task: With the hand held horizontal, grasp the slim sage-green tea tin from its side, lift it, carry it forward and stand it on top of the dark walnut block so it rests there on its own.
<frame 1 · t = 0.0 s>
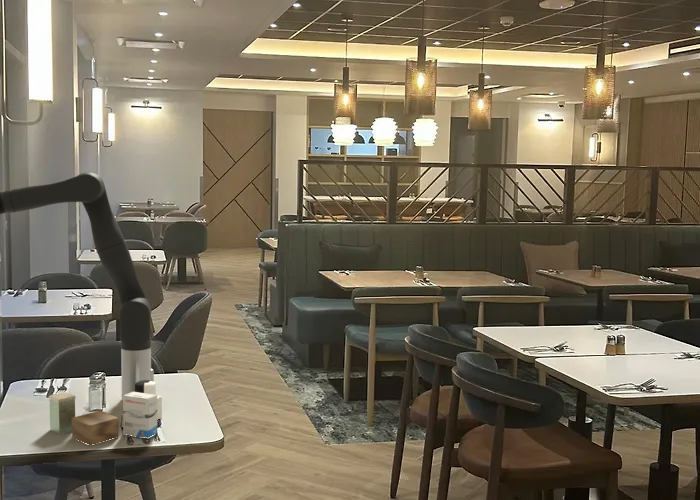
walnut block: (95, 438, 222), on the table
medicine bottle: (145, 421, 237), on the table
tea tin: (62, 430, 227), on the table
ink box: (140, 435, 225), on the table
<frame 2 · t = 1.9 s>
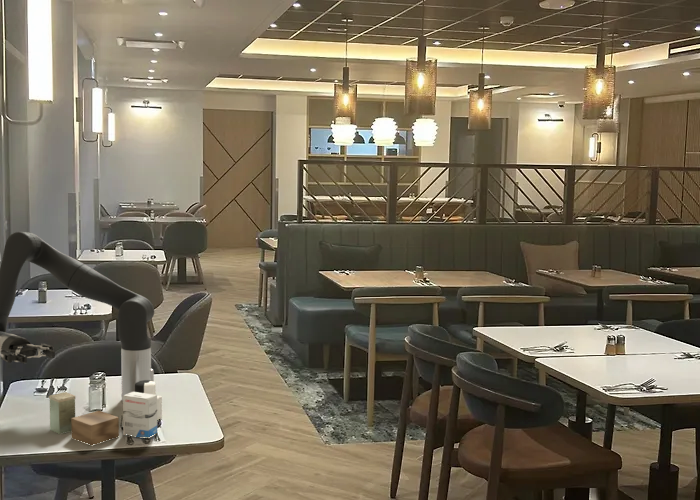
hand: (39, 357, 232), 19 cm above the table, tool horizontal, fingers open, 8 cm apart
nothing on the table moved.
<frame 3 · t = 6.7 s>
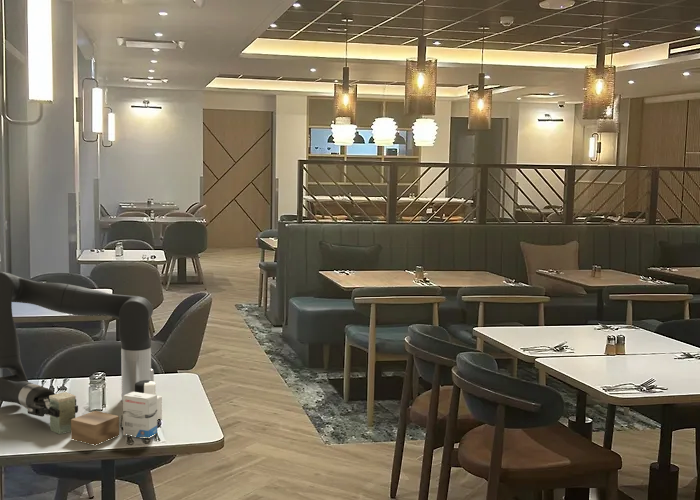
hand: (67, 411, 225), 6 cm above the table, tool horizontal, fingers closed on tea tin, 5 cm apart
tea tin: (62, 429, 227), on the table, touching gripper
everything else where it was.
when the fingers open (13 cm above the table, at t = 11.1 s): tea tin drops 1 cm, resting on walnut block.
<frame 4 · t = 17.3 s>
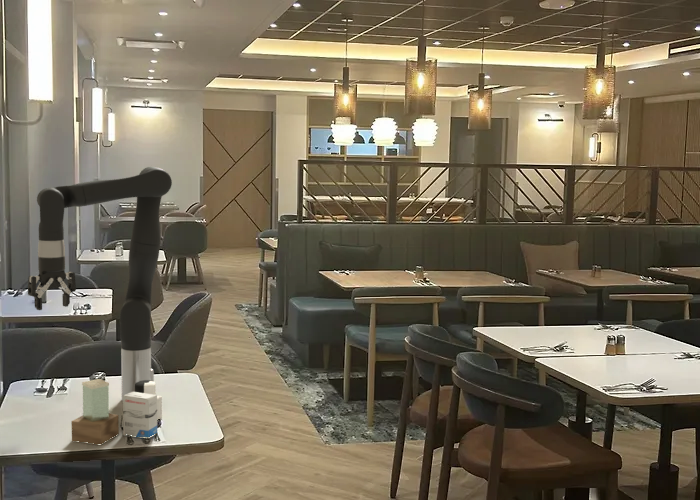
hand: (52, 308, 239), 32 cm above the table, tool pointing down, fingers open, 8 cm apart
walnut block: (95, 438, 222), on the table, touching tea tin
tea tin: (95, 417, 221), point 6 cm above the table, touching walnut block
everything else where it was.
at the end: tea tin inside the target area on the walnut block (0.2 cm from its centre), point 6.1 cm above the walnut block's base; tea tin tilted 1°; the gripper is holding nothing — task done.
